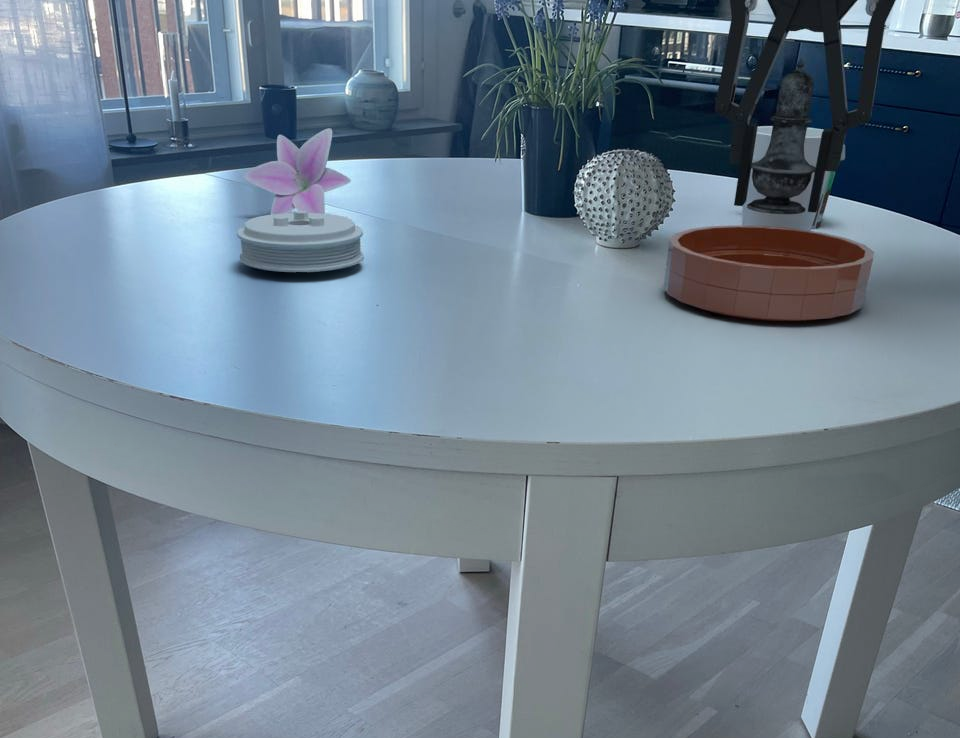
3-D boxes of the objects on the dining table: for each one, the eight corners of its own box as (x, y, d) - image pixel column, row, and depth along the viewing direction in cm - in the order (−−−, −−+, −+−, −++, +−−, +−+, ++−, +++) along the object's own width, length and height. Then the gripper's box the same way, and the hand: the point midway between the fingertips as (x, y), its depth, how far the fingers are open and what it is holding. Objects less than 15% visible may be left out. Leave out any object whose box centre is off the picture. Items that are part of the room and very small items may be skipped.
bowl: (865, 287, 103) (877, 235, 100) (856, 336, 88) (869, 277, 85) (683, 269, 108) (689, 219, 105) (646, 312, 93) (652, 255, 90)
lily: (240, 224, 128) (226, 157, 120) (302, 175, 133) (293, 107, 124) (311, 267, 125) (302, 201, 116) (373, 216, 130) (368, 149, 121)
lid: (215, 272, 103) (209, 219, 100) (287, 248, 112) (283, 200, 110) (321, 288, 98) (317, 233, 95) (386, 262, 108) (385, 211, 105)
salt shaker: (792, 202, 96) (817, 57, 90) (819, 214, 92) (849, 62, 85) (733, 203, 96) (755, 56, 89) (758, 215, 91) (783, 61, 84)
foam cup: (760, 276, 106) (783, 139, 99) (709, 257, 113) (727, 127, 106) (832, 269, 109) (859, 135, 102) (778, 251, 116) (800, 125, 109)
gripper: (702, -109, 80) (666, 204, 93) (956, -108, 75) (882, 223, 88) (717, -102, 86) (681, 191, 99) (954, -101, 81) (884, 208, 94)
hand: (776, 206), depth 93 cm, fingers closed on salt shaker, 6 cm apart
